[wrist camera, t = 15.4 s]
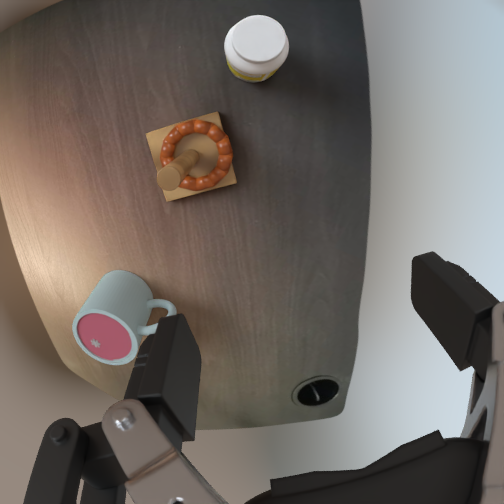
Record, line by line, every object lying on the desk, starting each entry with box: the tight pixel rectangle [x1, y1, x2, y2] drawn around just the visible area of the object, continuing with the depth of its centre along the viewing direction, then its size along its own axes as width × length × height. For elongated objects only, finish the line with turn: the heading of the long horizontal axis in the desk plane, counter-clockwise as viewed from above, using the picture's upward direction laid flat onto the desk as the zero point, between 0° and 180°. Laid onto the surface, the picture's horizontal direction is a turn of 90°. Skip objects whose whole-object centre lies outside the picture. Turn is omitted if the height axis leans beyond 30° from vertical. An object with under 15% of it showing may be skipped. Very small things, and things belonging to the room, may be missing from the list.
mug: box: [72, 270, 176, 365], centre depth 40 cm, size 14×9×10 cm
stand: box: [146, 112, 237, 202], centre depth 30 cm, size 9×9×14 cm
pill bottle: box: [224, 15, 289, 82], centre depth 27 cm, size 6×6×11 cm
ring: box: [160, 119, 233, 191], centre depth 35 cm, size 8×8×2 cm
